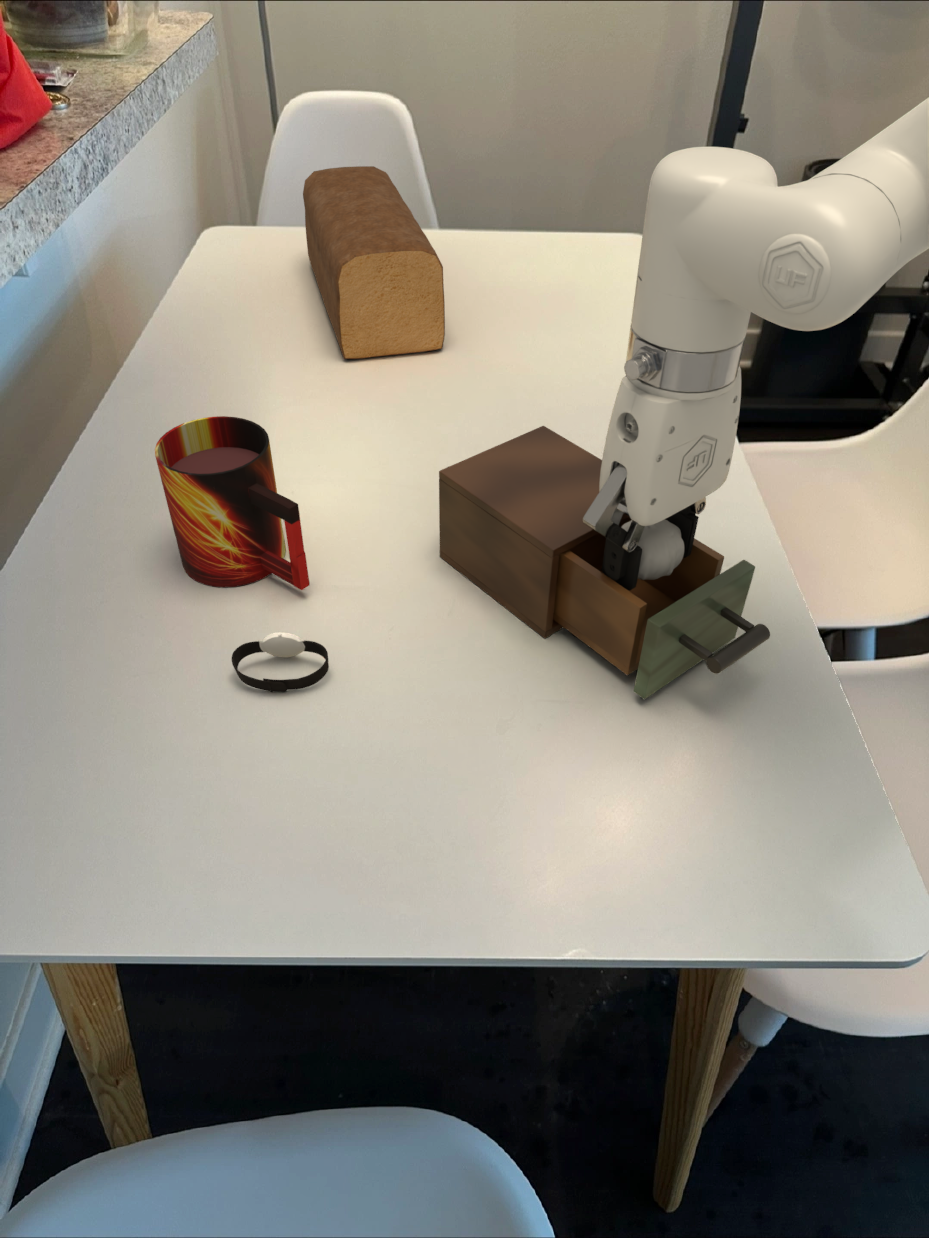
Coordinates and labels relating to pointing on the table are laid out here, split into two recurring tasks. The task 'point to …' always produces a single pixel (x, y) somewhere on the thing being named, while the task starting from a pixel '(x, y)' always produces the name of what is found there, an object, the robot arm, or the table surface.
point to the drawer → (657, 613)
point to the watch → (281, 647)
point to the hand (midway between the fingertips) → (646, 562)
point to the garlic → (659, 549)
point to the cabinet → (518, 519)
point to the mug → (229, 504)
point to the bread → (372, 264)
